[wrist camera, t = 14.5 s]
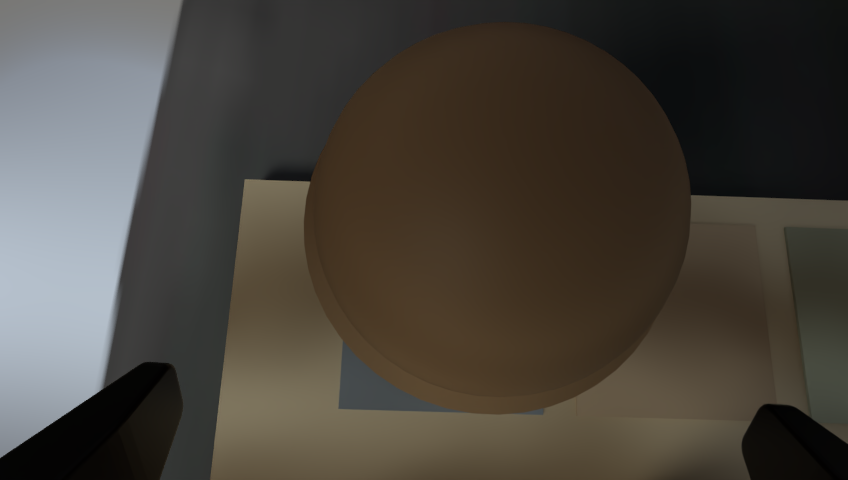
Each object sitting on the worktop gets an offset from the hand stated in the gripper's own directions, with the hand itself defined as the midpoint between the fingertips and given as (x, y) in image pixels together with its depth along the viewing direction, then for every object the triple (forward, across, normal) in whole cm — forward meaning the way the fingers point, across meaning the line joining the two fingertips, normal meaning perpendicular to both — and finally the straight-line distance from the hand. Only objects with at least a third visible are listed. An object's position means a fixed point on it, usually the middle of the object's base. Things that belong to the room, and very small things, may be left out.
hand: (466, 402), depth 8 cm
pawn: (+7, 0, +4) cm, 8 cm away
